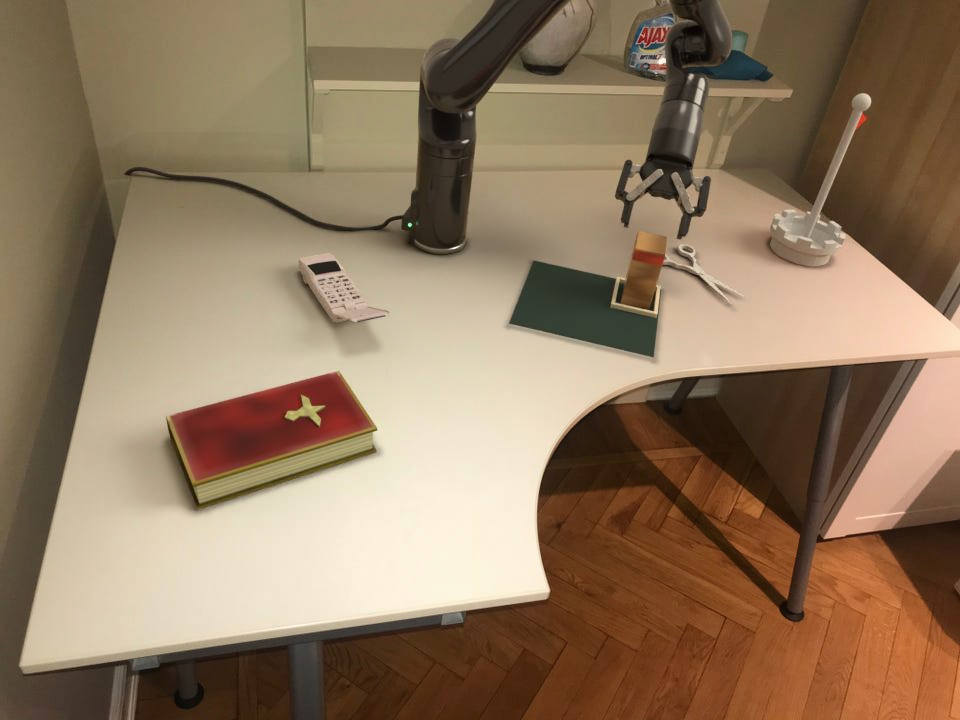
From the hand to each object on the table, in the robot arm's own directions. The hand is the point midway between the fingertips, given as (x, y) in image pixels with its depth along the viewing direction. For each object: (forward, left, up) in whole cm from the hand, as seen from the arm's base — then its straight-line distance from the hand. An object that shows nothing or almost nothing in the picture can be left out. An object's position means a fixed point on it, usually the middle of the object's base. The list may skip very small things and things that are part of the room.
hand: (652, 232), depth 120 cm
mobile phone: (-43, -23, -11) cm, 50 cm away
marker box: (0, -3, -11) cm, 11 cm away
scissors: (+10, +10, -11) cm, 18 cm away
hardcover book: (-39, -53, -11) cm, 67 cm away
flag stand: (+29, +28, -11) cm, 42 cm away
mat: (-7, -8, -11) cm, 15 cm away
